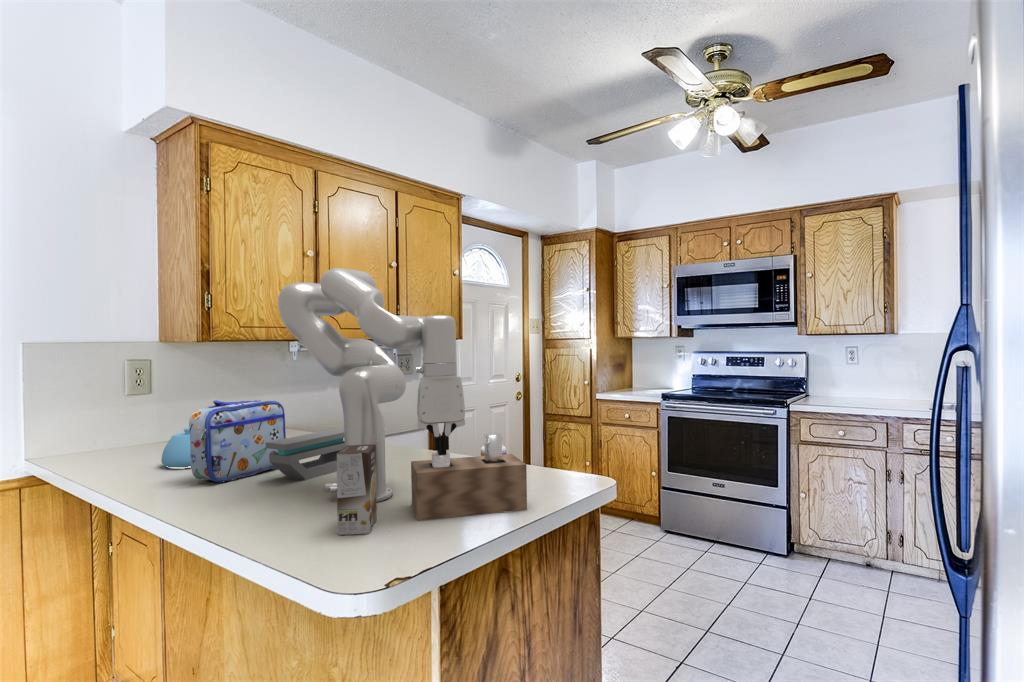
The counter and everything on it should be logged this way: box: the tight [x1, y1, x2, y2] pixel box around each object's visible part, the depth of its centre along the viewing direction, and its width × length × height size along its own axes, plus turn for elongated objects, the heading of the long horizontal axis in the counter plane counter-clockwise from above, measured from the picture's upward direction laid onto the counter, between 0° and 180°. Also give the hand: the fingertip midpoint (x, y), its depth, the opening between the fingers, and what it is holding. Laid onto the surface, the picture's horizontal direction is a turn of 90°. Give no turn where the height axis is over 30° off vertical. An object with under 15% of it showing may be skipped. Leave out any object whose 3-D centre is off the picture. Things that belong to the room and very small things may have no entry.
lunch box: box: [188, 399, 287, 483], centre depth 160 cm, size 28×10×22 cm, turn 154°
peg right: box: [483, 432, 503, 464], centre depth 128 cm, size 4×4×9 cm
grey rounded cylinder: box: [431, 451, 451, 468], centre depth 125 cm, size 4×4×9 cm
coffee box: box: [336, 444, 378, 536], centre depth 114 cm, size 9×6×16 cm
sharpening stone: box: [266, 428, 344, 481], centre depth 161 cm, size 25×8×11 cm, turn 152°
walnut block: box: [410, 453, 528, 522], centre depth 126 cm, size 24×12×10 cm, turn 106°
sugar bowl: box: [161, 427, 191, 467], centre depth 175 cm, size 15×15×12 cm
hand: (441, 453), depth 125 cm, fingers closed
